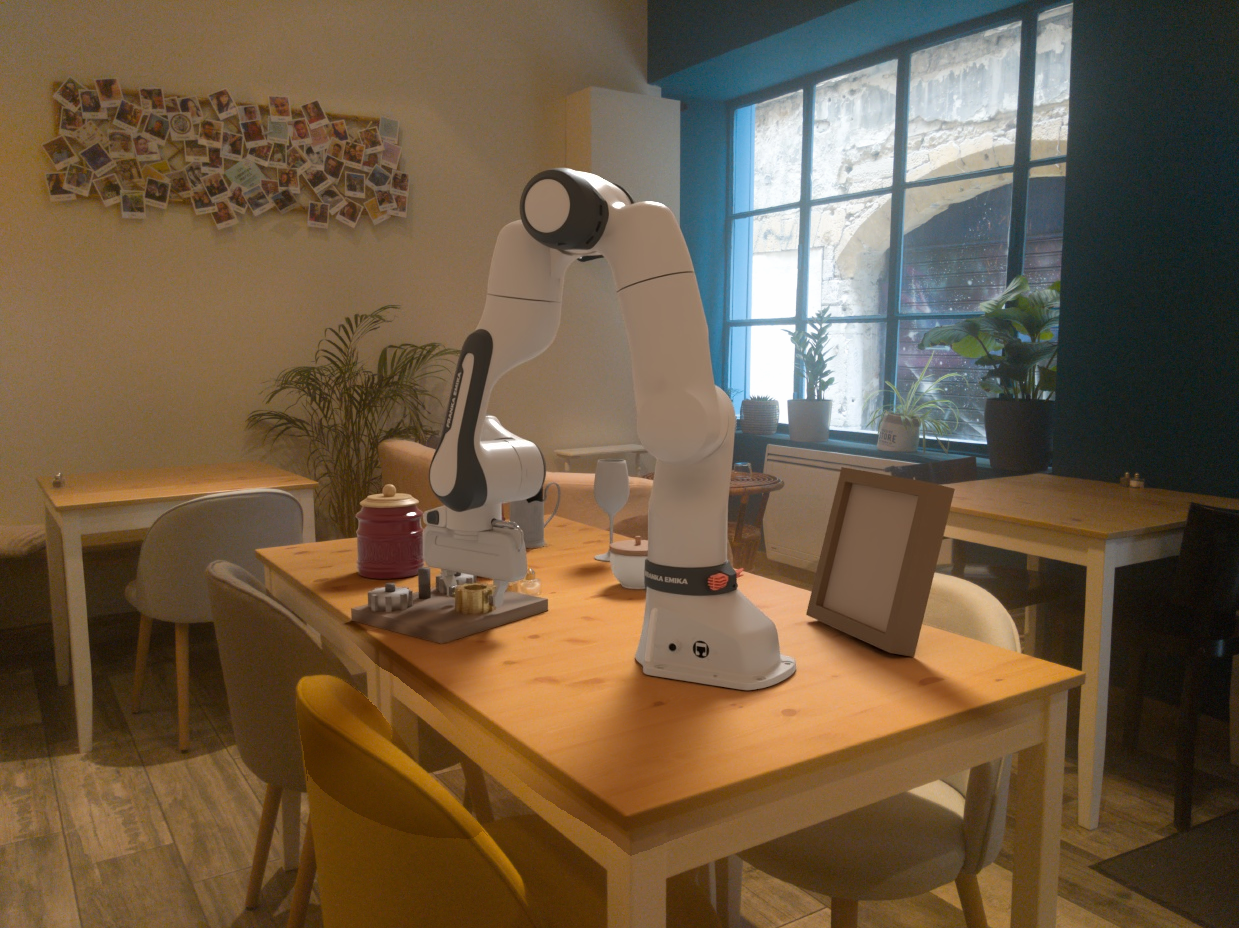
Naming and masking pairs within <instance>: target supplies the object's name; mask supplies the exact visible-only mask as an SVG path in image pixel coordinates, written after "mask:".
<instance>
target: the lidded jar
mask: <svg viewBox="0 0 1239 928" xmlns="http://www.w3.org/2000/svg"><path fill="white" fill-rule="evenodd" d="M634 538H635V539H626V540H618V541H613V543H611V544H610V543H609V546H608V547H609V548H608V550H609V549H610V562H609V563H610V568H611V571H612V575H613V576H614V578H615V579H616V581H617V582H619V583H620V584H621V587H623V588H624V589H629V590H645V584H644V569H645V559H646V558H647V557H648V539H642V536H641V535H635V536H634Z"/></svg>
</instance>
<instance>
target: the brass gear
mask: <svg viewBox="0 0 1239 928" xmlns="http://www.w3.org/2000/svg"><path fill="white" fill-rule="evenodd" d="M495 588H496V586H494V585H493V583H490V584H488V583H487V582H481V583H480V582H477V583H473V584H468V583H467V584H463V585H458V586H457V587H455V610H456V611H457V612H463V613H464V614H468V613H473V614H478V613H488V611H494V610H495V609H496V607H494V606H490V605H489V595H491V594H493V593H494V590H495Z"/></svg>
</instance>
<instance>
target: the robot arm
mask: <svg viewBox="0 0 1239 928" xmlns="http://www.w3.org/2000/svg"><path fill="white" fill-rule="evenodd" d="M519 200H520V201H519V214H520V215H519V216H520V219H517V220H514V221H512V222H509V223H507V224H506V225H503V227H502V228H501V229H500V231H499V233H498V234H497V238H496V242H495V245H494V249H493V253H492V257H491V261H490V266H489V271H488V272H489V273H488V281H487V288H486V289H487V290H486V299H485V304H484V308H483V312H482V315H481V317H480V320H479V322H478V324H477V326H476V328H475V329H474V331H473V332H472V333H470V334H468V335H467V337H466V339H465V340H464V342H463V344H462V346H461V350H460V353H459V356H458V360H457V363H456V368H455V372H454V376H453V380H452V385H451V389H450V394H449V397H448V403H447V408H446V412H445V415H444V422H443V426H442V429H441V434H440V437H439V440H438V443H437V445H436V448H435V451H434V453H433V455H432V459H431V461H430V465H429V469H428V482H429V486H430V489H431V492H432V493H433V495H434V496H435V497H436V498H437V499H438V501H440V502H441V503H442V505H441V506H438V507H435V508H432V509H428V510H425V511H424V512H423V516H422V521H423V524H424V525H426V526H425V527H424V528H423V529H424V531H423V558H424V564H426V567H429V568H433V569H439V570H440V573H441V576H442V578H443V580H444V583H445V585H446V586H447V596H448V597H453V598H455V587H457V586H458V585H457V582H456V579H455V576H454V574H456V572H459V573H464V574H469V575H475V576H477V577H481V578H487V579H490V580H492V582H493V583H492V584H493V585H494V586H496V588H495V590H494V593H493V594H491V595H489V605H490V606H494V607H499V606H502V604H503V594H504V593H505V591H507V590H508V587H509V584H510V583H514V582H515V583H516V582H518V581H523V580H524V579H525V578H526V576H527V574H528V557H527V548H525V543H524V535H523V531H522V530H521V528H520V527H519V526H518V525H517V524H516V523H515V522H512V521H506V520H505V521H504V520H502V503H503V504H508V503H509V502H512V501H519V500H525V499H528V498H530V497H534V496H535V495H537V494H538V493H539V491H540V490H541V488H542V487H543V488H544V484H545V481H546V477H547V463H546V460H545V459H546V458H545V457H544V454H543V452H542V450H541V448H540V447H539V446H538V444H536V443H535V442H534V441H532V440H530V439H524V438H523V437H521V436H518V435H516V434H515V433H512V432H510V431H509V430H508V429H506V428H505V427H504V426H503V425H502V424H501V422H500V420H499V419H498V417H496V416H495V415H492V414H488V413H487V412H488V411H487V410H488V407H489V403H490V398H491V394H492V391H493V389H494V387H495V386H496V384H497V382H498V381H499V380H500V379H501V378H502V377H503V376H504V375H505V374H507V373H508V372H510V371H511V370H513V369H514V368H516V367H518V366H520V365H522V364H524V363H526V362H529V361H531V360H533V359H535V358H536V357H538V356H540V355H541V354H543V353H544V352H545V351H546V350H547V349H548V348H549V347H550V346H552V344H553V343H554V341H555V340H556V338H557V334H558V332H559V329H560V325H561V320H562V319H561V317H562V307H563V305H562V304H563V296H564V295H563V293H564V282H565V277H566V273H567V270H568V268H569V267H570V266H571V264H572V263H573V262H574V261H576V260H577V261H578V262H580V263H581V262H582V263H585V262H590V261H593V260H598V259H603V258H604V259H605V260H606V261H607V263H608V265H609V268H610V271H611V274H612V278H613V284H614V287H615V291H616V295H617V300H618V304H619V308H620V312H621V313H620V314H621V317H622V321H623V325H624V329H625V333H626V337H627V341H628V347H629V352H630V353H629V354H630V363H631V369H632V370H631V371H632V384H633V393H634V401H635V409H636V414H637V415H636V433H637V437H638V440H639V442H640V443H641V445H642V447H643V448H644V450H646V452H647V453H648V454H649V455H650V456H652V457H654V458H655V459H656V460H655V468H654V473H653V480H652V487H651V492H650V496H649V499H648V505H647V511H648V512H647V540H648V557H647V558H646V559H645V569H644V584H645V589H644V591H645V604H644V605H645V606H644V607H645V608H644V613H643V614H644V615H643V622H642V627H641V631H640V636H639V642H638V646H637V649H636V651H635V654H634V658H635V660H636V661H637V663H639V664H640V665H641V666H642V672H643V673H644V674H645V675H647V676H653V677H660V678H666V679H671V680H678V681H685V682H691V683H697V684H701V685H702V684H703V685H709V686H716V687H724V688H729V689H734V690H735V689H736V690H741V691H742V690H743V691H752V690H757V689H758V690H760V689H764V688H767V687H771V686H774V685H776V684H779V683H780V682H782V681H784V680H787V679H788V678H790V677H791V676H793V674H794V673H795V672H796V670H797V664H796V663H797V662H796V659H795V658H794V657H793V656H789V655H786V654H782V653H781V648H780V640H779V634H778V629H777V627H776V624H775V622H774V621H773V620H772V619H771V618H770V616H768V615H766V614H765V613H764V612H763V611H762V610H761V609H760V608H759V606H757V605H756V604H754V603H753V602H752V600H750V598H748V597H747V596H746V595H745V594H744V593H743V592H742V591H741V590H740V589H739V588H738V587H739V585H738V582H737V581H738V580H737V579H738V578H740V577H744V575H745V574H744V573H743V574H741V573H742V572H743V571H744V570H745V569H744V567H741V568H738V569H735V568H733V566H732V564H731V561H729V559H728V522H729V521H728V517H729V516H728V513H729V498H730V497H729V495H730V489H731V481H732V480H731V479H732V470H733V461H734V460H733V459H734V447H735V446H734V445H735V433H736V411H735V407H734V405H733V402H732V400H731V398H730V397H729V396H728V394H727V393H726V392H725V391H724V390H723V389H722V388H721V387H719V386H718V385H716V384H715V379H714V377H715V376H714V372H713V366H712V358H711V349H710V340H709V327H708V322H707V318H706V313H705V310H704V305H703V301H702V298H701V293H700V288H699V285H698V284H699V283H698V280H697V276H696V272H695V269H694V264H693V261H692V258H691V254H690V251H689V248H688V245H687V243H686V240H685V237H684V234H683V232H682V229H681V227H680V225H679V222H678V221H677V218H676V215H675V214H674V213H673V211H672V210H671V209H670V208H669V207H668V206H666V205H665V204H663V203H661V202H657V201H652V200H651V201H650V200H649V201H648V200H647V201H637V202H636V201H635V199H634V198H633V196H632V195H631V194H630V192H629V191H627V189H625V188H624V187H622V186H621V185H619V184H617V183H614V182H609V180H606V179H603V178H602V177H600V176H599V175H596V174H594V173H589V172H585V171H580V170H574V169H572V168H568V167H555V168H547V169H545V170H542V171H540V172H539V173H537V174H535V175H534V176H532V178H531V179H530V180H529V181H528V182H527V183H526V185H525V186H524V188H523V190H522V193H521V195H520V199H519ZM515 528H517V529H515Z"/></svg>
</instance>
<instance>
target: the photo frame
mask: <svg viewBox="0 0 1239 928" xmlns="http://www.w3.org/2000/svg"><path fill="white" fill-rule="evenodd" d="M954 493H955V488H952V487H949V486H945V485H942V484H938V483H933V482H930V481H924V480H918V479H913V478H908V477H907V478H906V477H902V476H901V477H900V476H895V475H888V474H882V473H878V472H871V471H866V470H861V469H855V468H850V467H843V466H841V467H840V472H839V476H838V481H837V484H836V490H835V493H834V497H833V501H832V506H831V510H830V514H829V518H828V522H827V525H826V531H825V534H824V539H823V543H822V546H821V550H820V551H821V552H820V556H819V559H818V564H817V566H816V567H817V568H816V573H815V576H814V580H813V584H812V588H811V593H810V596H809V597H810V598H809V602H808V605H807V609H806V613H805V615H806V616H808V617H810V618H812V619H814V620H816V621H819V622H821V623H823V624H826V625H828V626H829V627H831V628H834V629H836V630H839V631H840V632H843V633H845V634H847V635H849V636H851V637H854V638H856V639H858V640H861V641H863V642H865V643H867V644H869V645H872V646H874V647H876V648H878V649H880V650H882V651H884V652H887V653H890V654H893V655H894V654H896V655H901V656H906V657H913V658H914V657H915V656H916V651H917V646H918V641H919V638H920V634H921V630H922V625H923V622H924V617H925V613H926V611H927V610H926V609H927V605H928V602H929V598H930V595H931V594H930V593H931V589H932V584H933V581H934V576H935V573H936V572H935V571H936V567H937V564H938V560H939V557H940V556H939V555H940V552H941V549H942V548H941V547H942V544H943V540H944V537H945V536H944V535H945V531H946V527H947V522H948V518H949V515H950V509H951V506H952V502H953V497H954Z"/></svg>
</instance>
